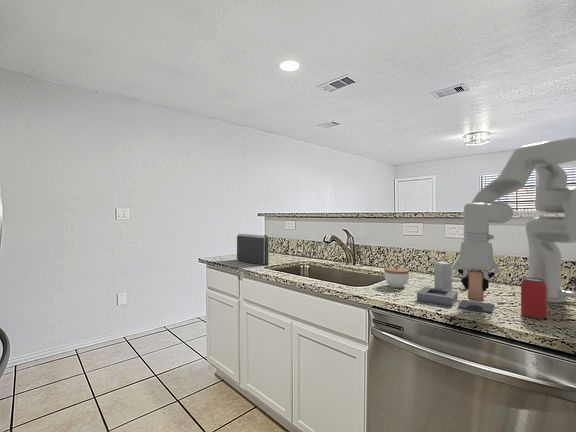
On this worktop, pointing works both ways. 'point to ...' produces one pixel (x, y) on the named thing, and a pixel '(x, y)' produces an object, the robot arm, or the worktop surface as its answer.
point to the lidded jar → (396, 276)
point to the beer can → (534, 298)
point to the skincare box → (443, 275)
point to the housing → (437, 296)
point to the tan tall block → (475, 285)
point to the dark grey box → (253, 248)
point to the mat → (476, 306)
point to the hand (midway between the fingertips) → (475, 288)
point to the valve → (458, 280)
